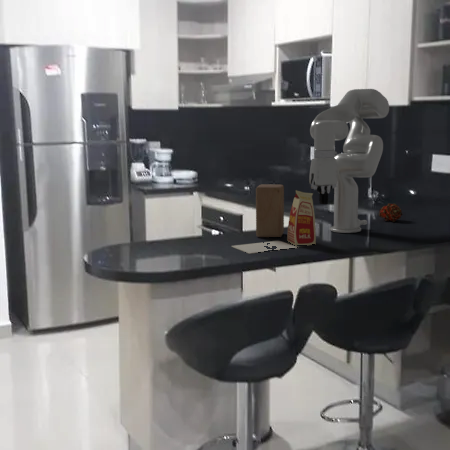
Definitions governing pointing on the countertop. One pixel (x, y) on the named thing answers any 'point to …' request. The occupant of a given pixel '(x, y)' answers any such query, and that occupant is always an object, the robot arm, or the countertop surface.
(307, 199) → the milk carton
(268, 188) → the wooden block
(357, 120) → the robot arm
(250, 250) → the mat
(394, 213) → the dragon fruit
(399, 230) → the countertop surface
